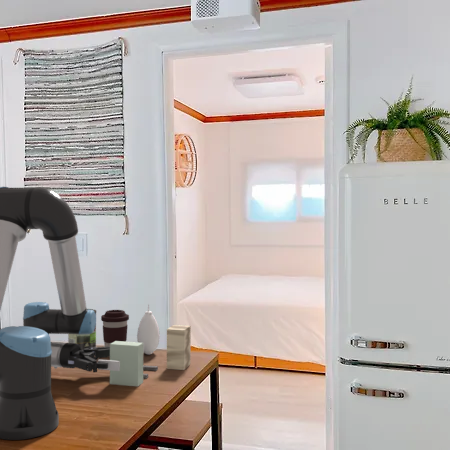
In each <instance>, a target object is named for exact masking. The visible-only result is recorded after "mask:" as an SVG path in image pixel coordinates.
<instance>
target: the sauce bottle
mask: <svg viewBox="0 0 450 450" xmlns="http://www.w3.org/2000/svg"><path fill="white" fill-rule="evenodd" d="M138 324H139V325H138V328H137V335H136V336H137V337H136V339H137V342H139V343H143V354H145V355H152V354H154V351H156V350H157V349H158V347H159V344H160V337H161V336H160V328H159V323H158V321H157V319H156V317H155V315H154V314H153V311H151V310H150V304H149V303H148V304H147V310H146V311H144V314H143V315H142V317H141V318H140V322H139V323H138Z"/></svg>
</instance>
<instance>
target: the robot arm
mask: <svg viewBox="0 0 450 450" xmlns="http://www.w3.org/2000/svg"><path fill="white" fill-rule="evenodd" d="M28 230H40V231H42V236H43V238H44V239H45V240H46V241H47V242H48V248H49V253H50V257H51V263H52V268H53V274H54V280H55V284H56V288H57V289H56V290H57V294H58V295H57V296H58V299H59V305H60V309H55V308H53V309H52V308H51V309H50V304H49V303H48V302H46V301H33V302H28V303H26V304H25V305H24V306H23V317H22V321H23V322H22V325H18V326H13V325H12V326H5V327H3V328H1V327H0V440H1V439H2V440H7V441H16V440H17V441H19V440H21V441H22V440H27V439H33V438H38V437H41V436H44V435H46V434H49V433H51V432H53V431H55V429H56V428H58V426H59V424H60V421H59V420H60V419H59V417H60V416H59V412H58V410H57V406H56V403H55V400H54V398H53V394H52V367H53V368H54V369H55V370H56V369H58V368H63V369H65V368H66V369H75V368H77V369H79V370H83V371H86V372H88V373H89V372H92V373H98V370H101V371H102V370H103V371H110V370H112V371H120V361H113V360H110V359H102V358H110V346H109V347H105V346H96V347H88V348H87V349H83V350H81V348H80V346H79V345H78V344H76V343H68V342H61V341H51V336H50V334H51V335H59V334H60V335H68V334H79V335H80V334H91V333H93V331H94V329H95V326H96V327H97V313H96V314H95V312H94V311H93V310H94V309H93V310H89V309H90V308H87V303H86V296H85V291H84V285H83V284H84V283H83V277H82V271H81V265H80V259H79V253H78V252H79V251H78V247H77V245H78V244H77V239H76V237H77V236H78V234H79V228H78V222H77V220H76V215H75V214H74V211H73V210H72V208H71V207H70V205H69V203H68V202H66V200H65V199H64V198H63V197H62V196H61V195H60V194H58V193H57V192H55V191H54V190H52V189H50V188H47V187H41V186H40V187H39V186H37V187H8V186H0V311H1V310H2V307H3V302H4V297H5V294H6V290H7V288H8V287H7V286H8V282H9V278H10V275H11V271H12V267H13V264H14V259H15V256H16V252H17V247H18V244H19V242H22V241H23V240H25V239H26V236H27V232H28ZM87 309H88V310H87Z"/></svg>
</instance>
